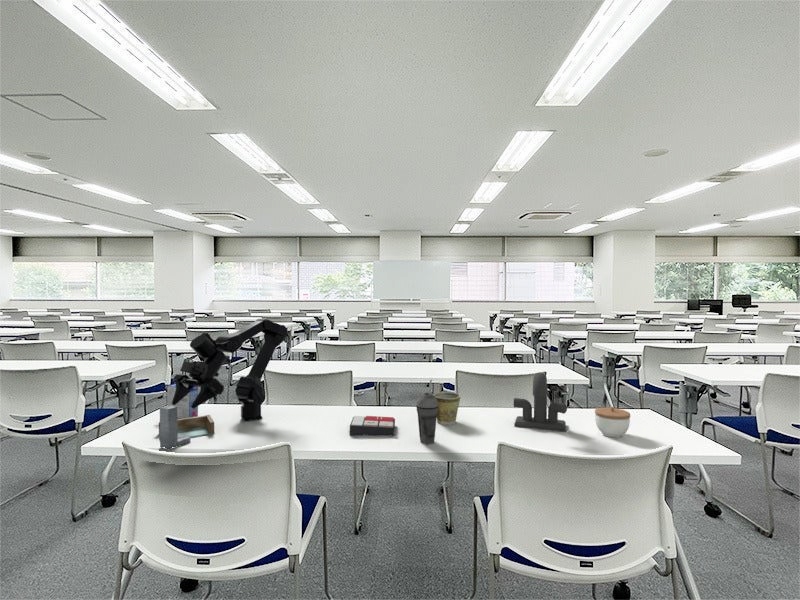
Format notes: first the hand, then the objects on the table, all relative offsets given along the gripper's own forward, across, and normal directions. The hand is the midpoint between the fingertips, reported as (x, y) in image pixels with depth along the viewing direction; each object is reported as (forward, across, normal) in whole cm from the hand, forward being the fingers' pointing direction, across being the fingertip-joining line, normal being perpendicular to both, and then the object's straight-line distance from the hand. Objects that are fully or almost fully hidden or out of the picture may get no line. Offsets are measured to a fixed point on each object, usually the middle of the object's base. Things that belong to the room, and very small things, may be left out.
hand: (182, 406), depth 139 cm
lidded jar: (-41, +123, +57) cm, 142 cm away
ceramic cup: (-34, +68, +50) cm, 91 cm away
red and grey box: (-18, +48, +35) cm, 62 cm away
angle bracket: (+10, 0, +6) cm, 12 cm away
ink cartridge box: (-5, -25, +22) cm, 34 cm away
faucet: (-38, +100, +54) cm, 120 cm away
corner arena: (+4, -6, +13) cm, 15 cm away
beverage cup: (-17, +70, +33) cm, 79 cm away
